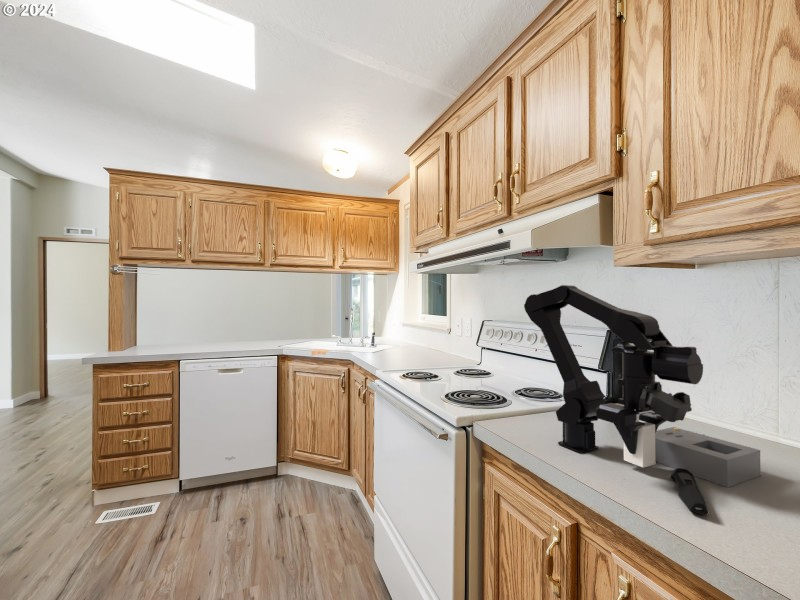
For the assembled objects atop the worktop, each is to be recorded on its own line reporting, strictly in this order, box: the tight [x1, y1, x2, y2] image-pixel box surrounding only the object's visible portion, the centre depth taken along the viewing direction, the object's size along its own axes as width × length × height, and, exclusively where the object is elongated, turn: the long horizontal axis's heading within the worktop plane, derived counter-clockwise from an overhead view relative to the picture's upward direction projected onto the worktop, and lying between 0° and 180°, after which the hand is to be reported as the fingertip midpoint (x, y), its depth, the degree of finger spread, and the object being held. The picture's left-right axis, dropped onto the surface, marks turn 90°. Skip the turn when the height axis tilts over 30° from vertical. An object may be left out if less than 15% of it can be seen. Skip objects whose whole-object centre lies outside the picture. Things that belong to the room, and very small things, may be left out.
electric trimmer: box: [670, 468, 709, 516], centre depth 67 cm, size 4×16×3 cm, turn 152°
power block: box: [655, 426, 762, 488], centre depth 80 cm, size 16×12×5 cm
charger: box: [623, 420, 656, 468], centre depth 78 cm, size 4×4×8 cm
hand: (639, 451), depth 78 cm, fingers closed on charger, 4 cm apart
